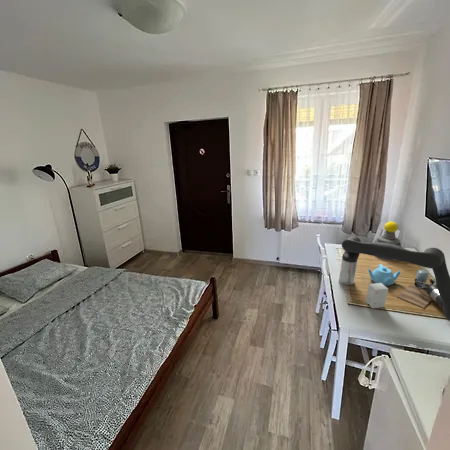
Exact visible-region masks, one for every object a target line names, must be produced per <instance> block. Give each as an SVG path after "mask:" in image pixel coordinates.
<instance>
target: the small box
mask: <svg viewBox="0 0 450 450" xmlns="http://www.w3.org/2000/svg"><path fill="white" fill-rule="evenodd" d="M388 292H389V288H388V287H387V286H384V285H383V284H382V283H375V282H374V283H368V286H367V292H366V298H365V303H366V304H367V305H368V304H369V305H370V306H371V307H370V306H369V305H368V306H369V307H370V308H371V309H379V308H380V307H381V308H385V307H386V306H385V305H386V302H387V296H388Z"/></svg>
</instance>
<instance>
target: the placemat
mask: <svg viewBox="0 0 450 450" xmlns="http://www.w3.org/2000/svg"><path fill="white" fill-rule="evenodd" d="M396 297H397V298H398V299H400V300H402V301H405V302H406V303H410V304H411V305H412V304H413V305H414V304H415V306H417V307H419V306H420V307H419V308H421V307H422V309H426V307H427V306H428V305H429V302H430V303H431V302H432V300H433V299H432V298H431V297H430V296H429V294H428V293H427V291H426V290H425V289H421V290H419V289H418V288H417V287H415V286H414V285H411V284H409V285H408V286H407V287H406V288H405V289H404V290H403V291H402V292H401V293H399V294H398V295H397V296H396Z"/></svg>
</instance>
